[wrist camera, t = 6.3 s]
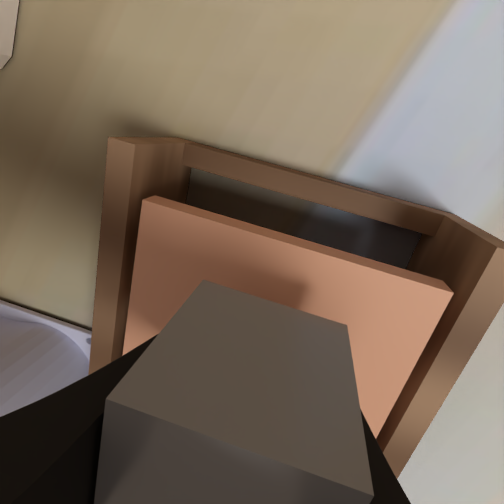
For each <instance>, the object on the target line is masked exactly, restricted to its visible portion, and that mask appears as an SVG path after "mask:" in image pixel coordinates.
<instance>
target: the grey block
mask: <svg viewBox="0 0 504 504" xmlns="http://www.w3.org/2000/svg"><path fill="white" fill-rule="evenodd" d="M373 497H374V492H373V486H372V480H371V473H370V467H369V461H368V454H367V448H366V442H365V435H364V429H363V423H362V416H361V410H360V404H359V397H358V391H357V384H356V378H355V372H354V365H353V359H352V353H351V346H350V340H349V334H348V327H347V325H345V324H342V323H339V322H336V321H333V320H329V319H326V318H323V317H320V316H317V315H314V314H310V313H307V312H304V311H301V310H298V309H295V308H292V307H288V306H285V305H282V304H279V303H276V302H273V301H269V300H266V299H263V298H260V297H257V296H254V295H251V294H247V293H244V292H241V291H238V290H235V289H232V288H229V287H225V286H222V285H219V284H216V283H213V282H210V281H206V280H202V282H201V283H200V284H199V285H198V286H197V288H196V289H195V290H194V291H193V293H192V294H191V295H190V296H189V297H188V299H187V300H186V301H185V302H184V304H183V305H182V306H181V307H180V308H179V310H178V311H177V312H176V313H175V315H174V316H173V317H172V318H171V319H170V321H169V322H168V323H167V324H166V326H165V327H164V328H163V329H162V330H161V332H160V333H159V334H158V335H157V337H156V338H155V339H154V340H153V341H152V343H151V344H150V345H149V346H148V348H147V349H146V350H145V351H144V353H143V354H142V355H141V356H140V357H139V359H138V360H137V361H136V362H135V364H134V365H133V366H132V367H131V368H130V370H129V371H128V372H127V373H126V375H125V376H124V377H123V378H122V379H121V381H120V382H119V383H118V384H117V386H116V387H115V388H114V389H113V390H112V392H111V393H110V394H109V395H108V397H107V398H106V401H105V410H104V418H103V427H102V436H101V445H100V454H99V463H98V472H97V480H96V489H95V498H94V504H370V502H371V500H372V499H373Z"/></svg>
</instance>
